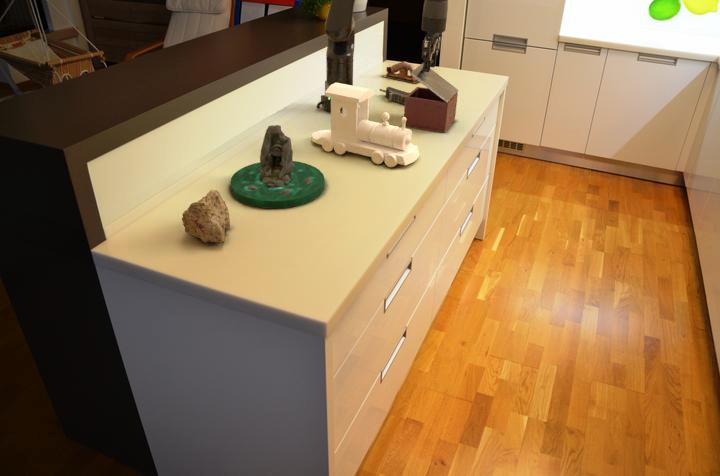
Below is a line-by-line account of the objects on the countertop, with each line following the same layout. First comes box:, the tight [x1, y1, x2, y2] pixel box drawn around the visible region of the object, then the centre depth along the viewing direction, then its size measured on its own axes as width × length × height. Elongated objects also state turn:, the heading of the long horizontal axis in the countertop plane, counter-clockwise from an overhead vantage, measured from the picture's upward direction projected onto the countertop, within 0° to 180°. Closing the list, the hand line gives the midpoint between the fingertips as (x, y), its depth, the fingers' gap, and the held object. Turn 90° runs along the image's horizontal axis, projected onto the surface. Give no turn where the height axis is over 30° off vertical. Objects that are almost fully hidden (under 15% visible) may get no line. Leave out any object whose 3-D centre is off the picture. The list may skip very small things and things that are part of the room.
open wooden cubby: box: [403, 86, 459, 134], centre depth 201 cm, size 14×13×10 cm
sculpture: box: [382, 61, 419, 84], centre depth 247 cm, size 7×16×7 cm, turn 59°
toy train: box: [310, 83, 420, 168], centre depth 177 cm, size 12×35×19 cm, turn 60°
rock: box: [181, 189, 231, 243], centre depth 137 cm, size 11×12×10 cm
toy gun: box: [379, 86, 411, 105], centre depth 221 cm, size 3×32×15 cm
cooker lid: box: [409, 57, 460, 103], centre depth 195 cm, size 15×13×6 cm
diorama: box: [229, 124, 326, 209], centre depth 156 cm, size 25×25×15 cm
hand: (429, 69), depth 195 cm, fingers closed on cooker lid, 5 cm apart
